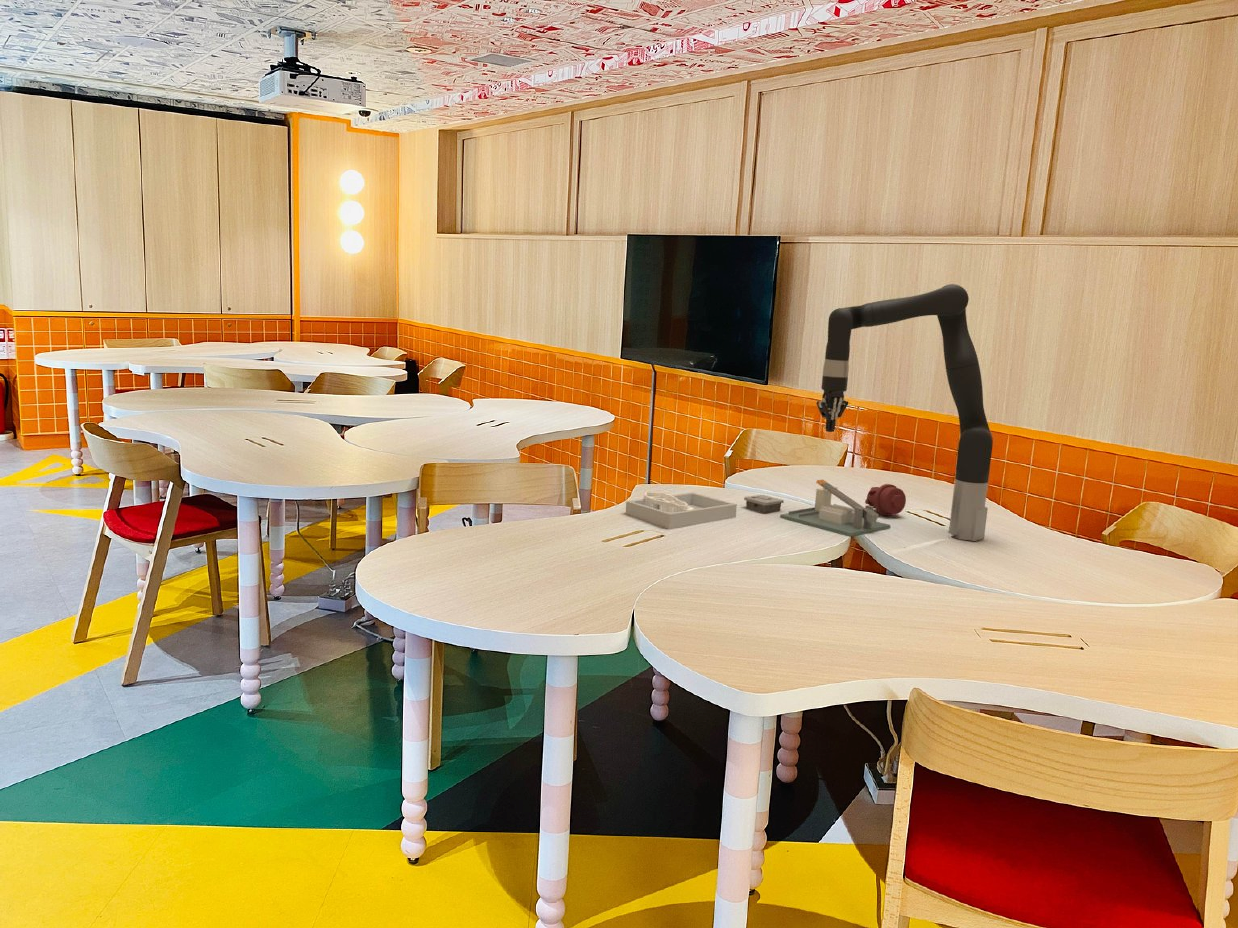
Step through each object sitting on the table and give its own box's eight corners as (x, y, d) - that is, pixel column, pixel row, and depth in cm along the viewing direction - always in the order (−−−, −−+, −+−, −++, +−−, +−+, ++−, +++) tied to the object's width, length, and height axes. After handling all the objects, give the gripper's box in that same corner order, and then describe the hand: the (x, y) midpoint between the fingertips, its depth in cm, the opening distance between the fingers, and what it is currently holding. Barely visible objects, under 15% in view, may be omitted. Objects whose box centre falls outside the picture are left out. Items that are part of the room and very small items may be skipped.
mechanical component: (859, 512, 304) (860, 482, 303) (883, 511, 308) (884, 481, 307) (885, 518, 293) (886, 486, 292) (909, 516, 297) (911, 485, 296)
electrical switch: (742, 497, 297) (761, 489, 302) (743, 512, 298) (762, 504, 304) (765, 503, 290) (784, 495, 295) (765, 518, 291) (785, 510, 297)
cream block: (835, 512, 296) (837, 487, 294) (827, 513, 293) (829, 488, 292) (822, 508, 299) (824, 484, 298) (814, 510, 297) (816, 485, 295)
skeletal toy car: (698, 530, 274) (699, 505, 272) (663, 531, 270) (664, 506, 269) (670, 514, 292) (672, 491, 291) (637, 515, 288) (639, 492, 287)
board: (890, 528, 282) (892, 505, 281) (850, 536, 269) (852, 512, 268) (820, 510, 301) (822, 489, 300) (780, 517, 288) (781, 495, 287)
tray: (735, 518, 285) (736, 504, 284) (669, 529, 266) (670, 514, 266) (691, 505, 299) (692, 492, 298) (625, 515, 280) (626, 501, 280)
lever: (876, 521, 276) (879, 514, 275) (869, 522, 274) (872, 515, 273) (821, 483, 290) (824, 477, 289) (814, 484, 288) (817, 478, 287)
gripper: (831, 376, 276) (825, 434, 279) (859, 376, 284) (853, 432, 287) (811, 373, 282) (806, 430, 285) (839, 373, 290) (833, 429, 293)
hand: (829, 431), depth 286 cm, fingers closed
